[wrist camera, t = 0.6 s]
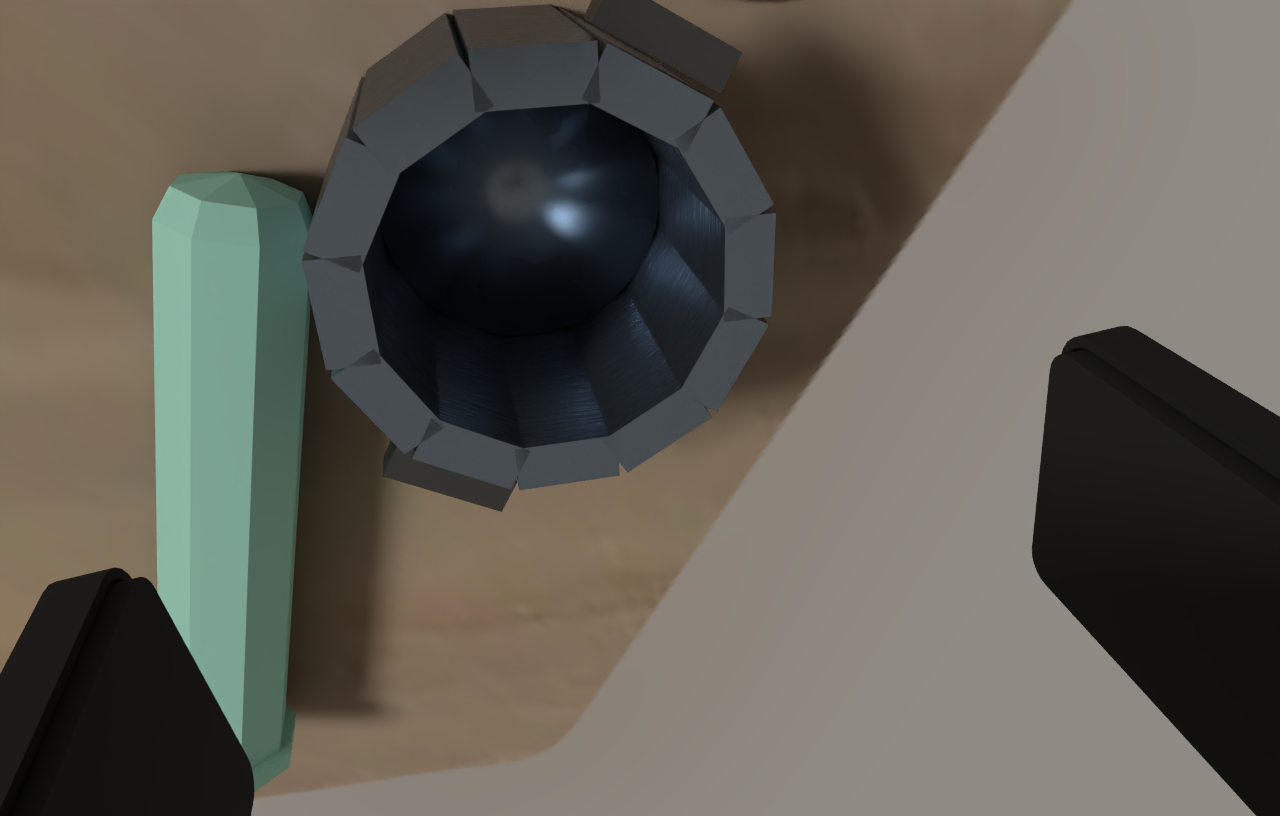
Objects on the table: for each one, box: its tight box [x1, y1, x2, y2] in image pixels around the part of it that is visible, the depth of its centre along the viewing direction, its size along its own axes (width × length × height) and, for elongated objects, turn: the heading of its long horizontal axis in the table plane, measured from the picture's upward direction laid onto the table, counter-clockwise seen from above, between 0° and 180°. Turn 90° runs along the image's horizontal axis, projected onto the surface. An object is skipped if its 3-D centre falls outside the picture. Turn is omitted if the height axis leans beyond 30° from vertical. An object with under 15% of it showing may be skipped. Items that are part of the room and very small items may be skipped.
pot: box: [302, 0, 776, 512], centre depth 30 cm, size 16×13×9 cm
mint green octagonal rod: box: [152, 171, 313, 791], centre depth 34 cm, size 6×6×25 cm
